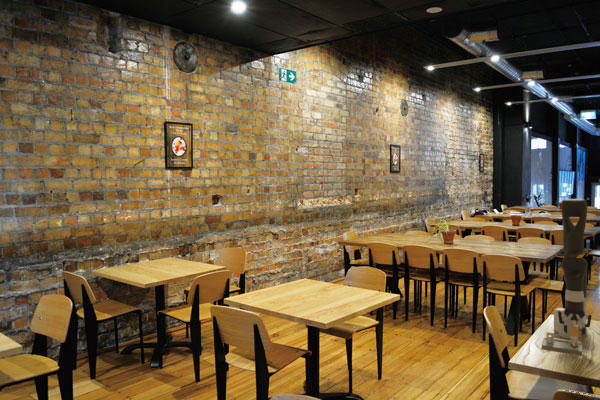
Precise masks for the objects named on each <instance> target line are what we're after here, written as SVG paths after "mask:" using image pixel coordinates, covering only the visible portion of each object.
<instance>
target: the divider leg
mask: <svg viewBox="0 0 600 400" xmlns="http://www.w3.org/2000/svg"><path fill="white" fill-rule="evenodd" d="M570 341H571V345H572V346H573V348H575V346H578V342H579V330H578V325H575V324H571V339H570Z"/></svg>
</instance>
